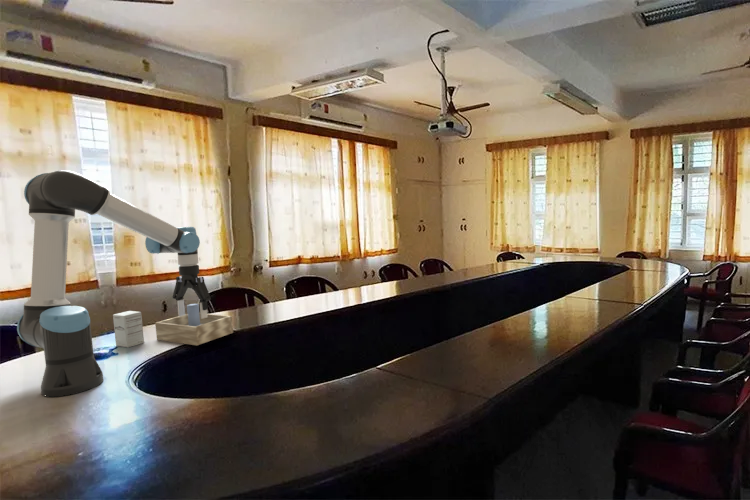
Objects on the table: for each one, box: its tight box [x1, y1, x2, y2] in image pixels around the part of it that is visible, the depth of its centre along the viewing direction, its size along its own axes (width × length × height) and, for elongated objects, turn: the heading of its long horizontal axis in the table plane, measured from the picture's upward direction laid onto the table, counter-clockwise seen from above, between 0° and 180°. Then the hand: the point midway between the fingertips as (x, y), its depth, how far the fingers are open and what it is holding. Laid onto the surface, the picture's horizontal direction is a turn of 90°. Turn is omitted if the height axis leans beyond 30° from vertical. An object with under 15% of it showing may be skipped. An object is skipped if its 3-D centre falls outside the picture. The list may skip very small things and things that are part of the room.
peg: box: [186, 303, 200, 326], centre depth 177 cm, size 4×4×13 cm
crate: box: [154, 312, 234, 346], centre depth 177 cm, size 18×24×7 cm
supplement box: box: [112, 310, 145, 348], centre depth 171 cm, size 7×7×13 cm
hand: (192, 316), depth 177 cm, fingers open, 13 cm apart
